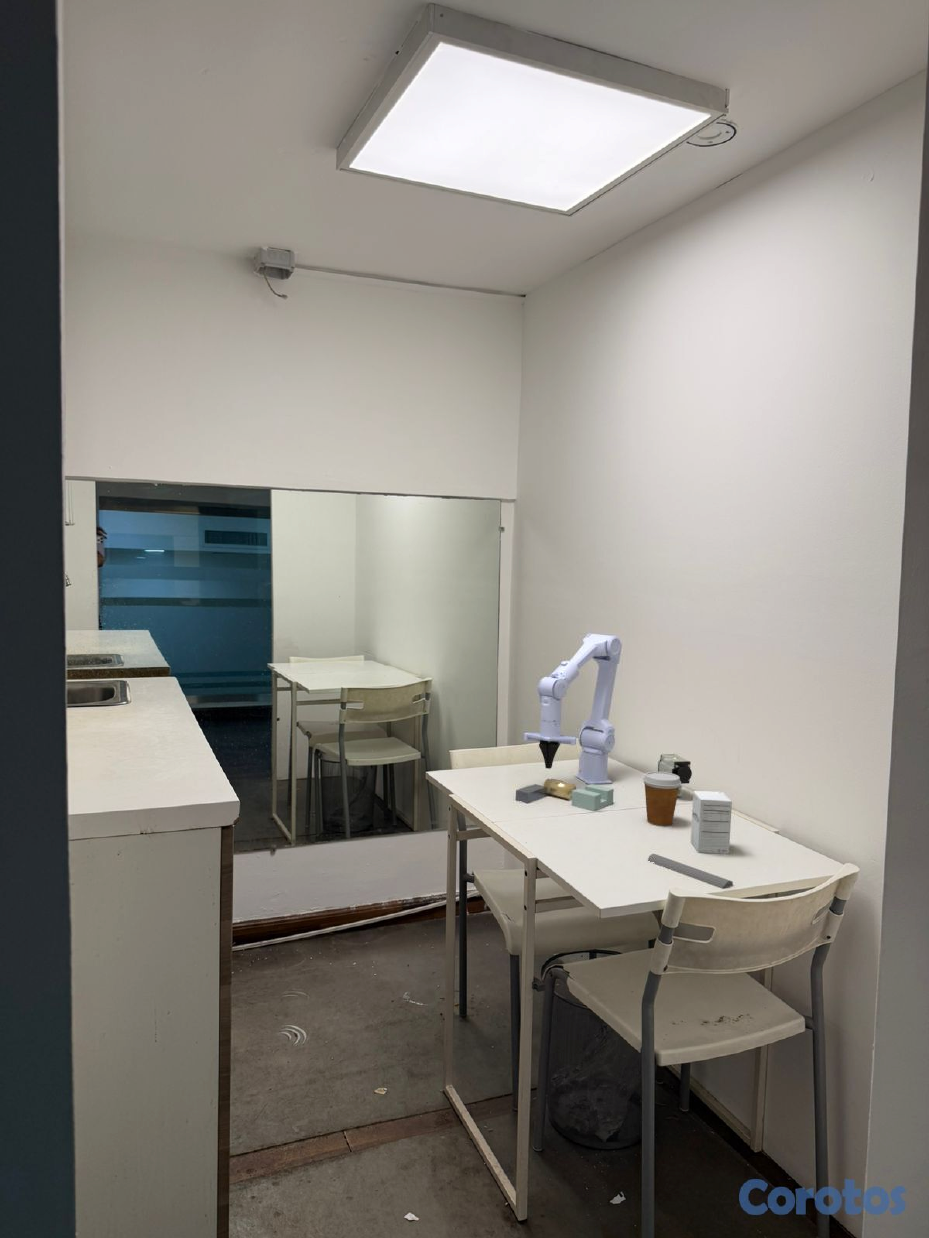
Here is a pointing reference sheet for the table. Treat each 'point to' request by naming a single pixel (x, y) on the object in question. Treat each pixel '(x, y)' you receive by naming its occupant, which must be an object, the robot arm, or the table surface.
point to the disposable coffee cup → (661, 797)
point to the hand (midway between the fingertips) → (548, 767)
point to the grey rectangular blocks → (531, 793)
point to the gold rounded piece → (559, 788)
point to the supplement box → (711, 822)
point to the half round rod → (690, 871)
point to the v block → (592, 797)
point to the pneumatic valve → (676, 768)
